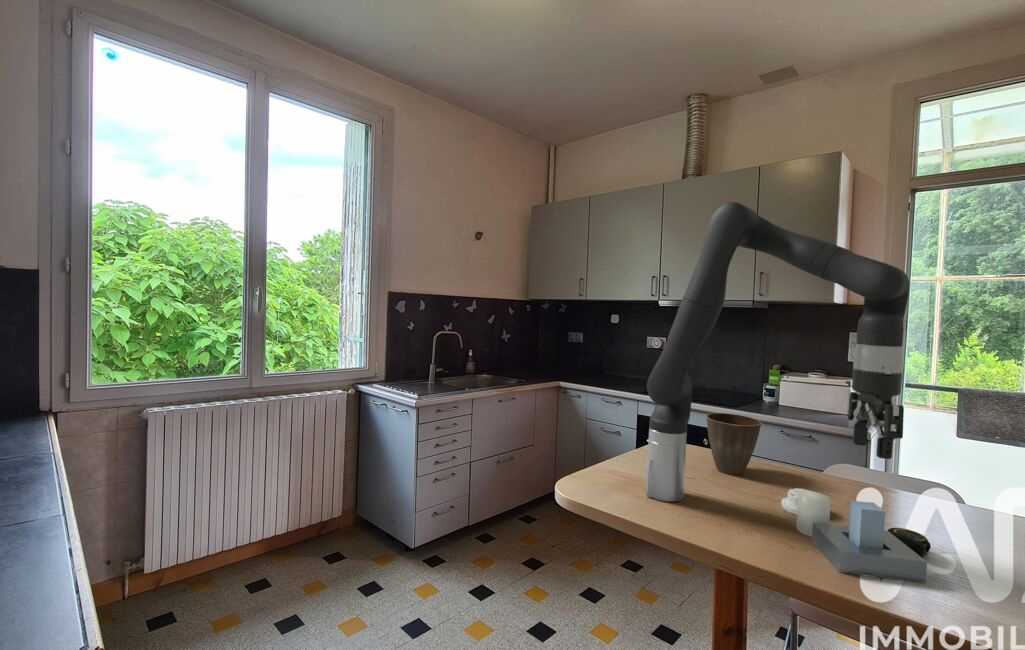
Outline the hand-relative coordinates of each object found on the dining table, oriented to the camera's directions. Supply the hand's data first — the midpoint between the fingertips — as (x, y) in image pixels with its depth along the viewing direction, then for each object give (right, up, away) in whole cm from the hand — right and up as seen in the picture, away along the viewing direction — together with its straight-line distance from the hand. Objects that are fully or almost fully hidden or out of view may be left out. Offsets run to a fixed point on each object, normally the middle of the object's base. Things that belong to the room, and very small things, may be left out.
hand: (871, 451), depth 91 cm
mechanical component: (+2, -21, +24) cm, 32 cm away
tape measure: (+11, -22, +5) cm, 25 cm away
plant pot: (-4, -20, +51) cm, 54 cm away
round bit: (-3, -21, +13) cm, 25 cm away
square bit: (-1, -22, +1) cm, 22 cm away
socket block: (-1, -22, +1) cm, 22 cm away
